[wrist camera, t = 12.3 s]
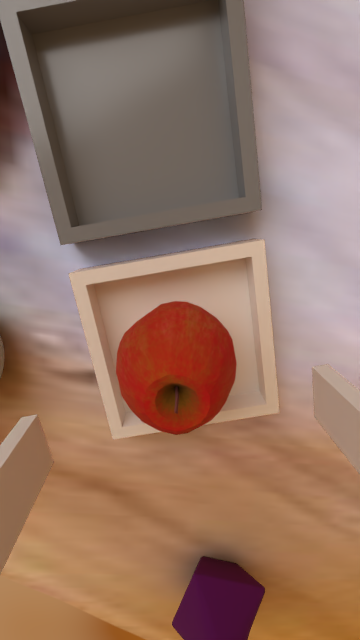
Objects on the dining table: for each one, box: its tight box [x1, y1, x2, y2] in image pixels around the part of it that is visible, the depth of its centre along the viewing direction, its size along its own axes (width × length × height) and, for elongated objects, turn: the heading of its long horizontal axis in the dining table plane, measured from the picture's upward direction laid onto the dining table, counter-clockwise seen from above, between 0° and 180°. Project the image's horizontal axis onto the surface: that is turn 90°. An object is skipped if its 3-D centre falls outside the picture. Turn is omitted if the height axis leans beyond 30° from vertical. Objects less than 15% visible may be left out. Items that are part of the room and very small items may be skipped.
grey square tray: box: [0, 0, 262, 245], centre depth 21 cm, size 14×14×3 cm
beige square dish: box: [69, 239, 280, 439], centre depth 25 cm, size 14×14×3 cm
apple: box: [116, 301, 237, 435], centre depth 20 cm, size 8×8×11 cm
